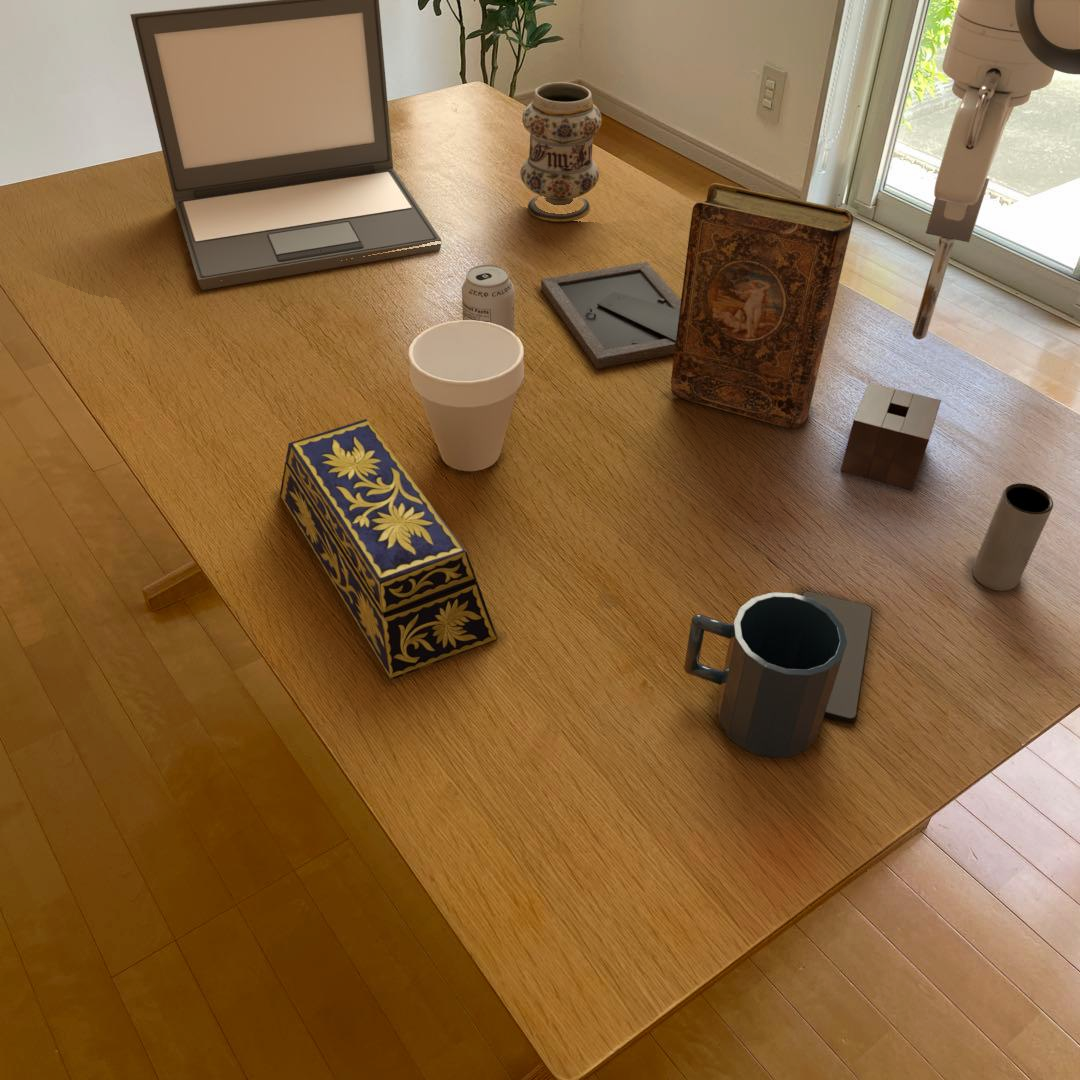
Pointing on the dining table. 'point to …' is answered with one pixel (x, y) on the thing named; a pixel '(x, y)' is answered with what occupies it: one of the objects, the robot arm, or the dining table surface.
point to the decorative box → (384, 549)
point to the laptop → (278, 137)
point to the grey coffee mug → (773, 671)
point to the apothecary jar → (560, 147)
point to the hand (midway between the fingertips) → (955, 210)
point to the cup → (467, 388)
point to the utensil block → (890, 435)
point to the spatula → (943, 255)
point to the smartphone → (847, 655)
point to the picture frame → (617, 312)
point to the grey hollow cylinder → (1012, 536)
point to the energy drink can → (489, 296)
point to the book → (757, 302)
